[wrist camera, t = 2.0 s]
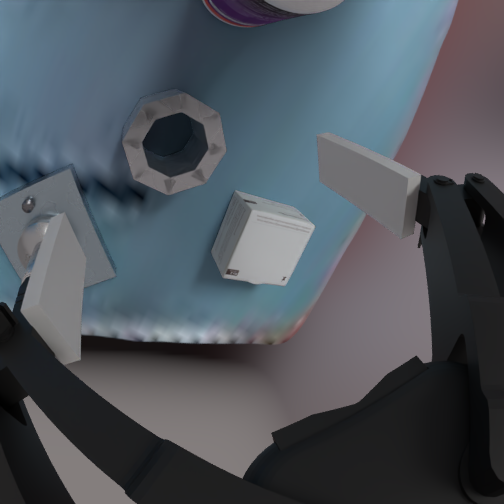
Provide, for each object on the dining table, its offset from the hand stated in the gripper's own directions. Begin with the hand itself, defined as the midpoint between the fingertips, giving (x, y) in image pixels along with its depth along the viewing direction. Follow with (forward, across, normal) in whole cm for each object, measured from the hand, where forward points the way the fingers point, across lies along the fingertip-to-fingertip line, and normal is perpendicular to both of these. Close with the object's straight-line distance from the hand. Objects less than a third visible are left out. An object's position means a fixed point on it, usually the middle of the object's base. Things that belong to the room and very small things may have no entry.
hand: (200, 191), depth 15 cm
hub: (+15, 0, 0) cm, 15 cm away
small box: (+15, +7, -13) cm, 21 cm away
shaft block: (+15, -14, -6) cm, 21 cm away
